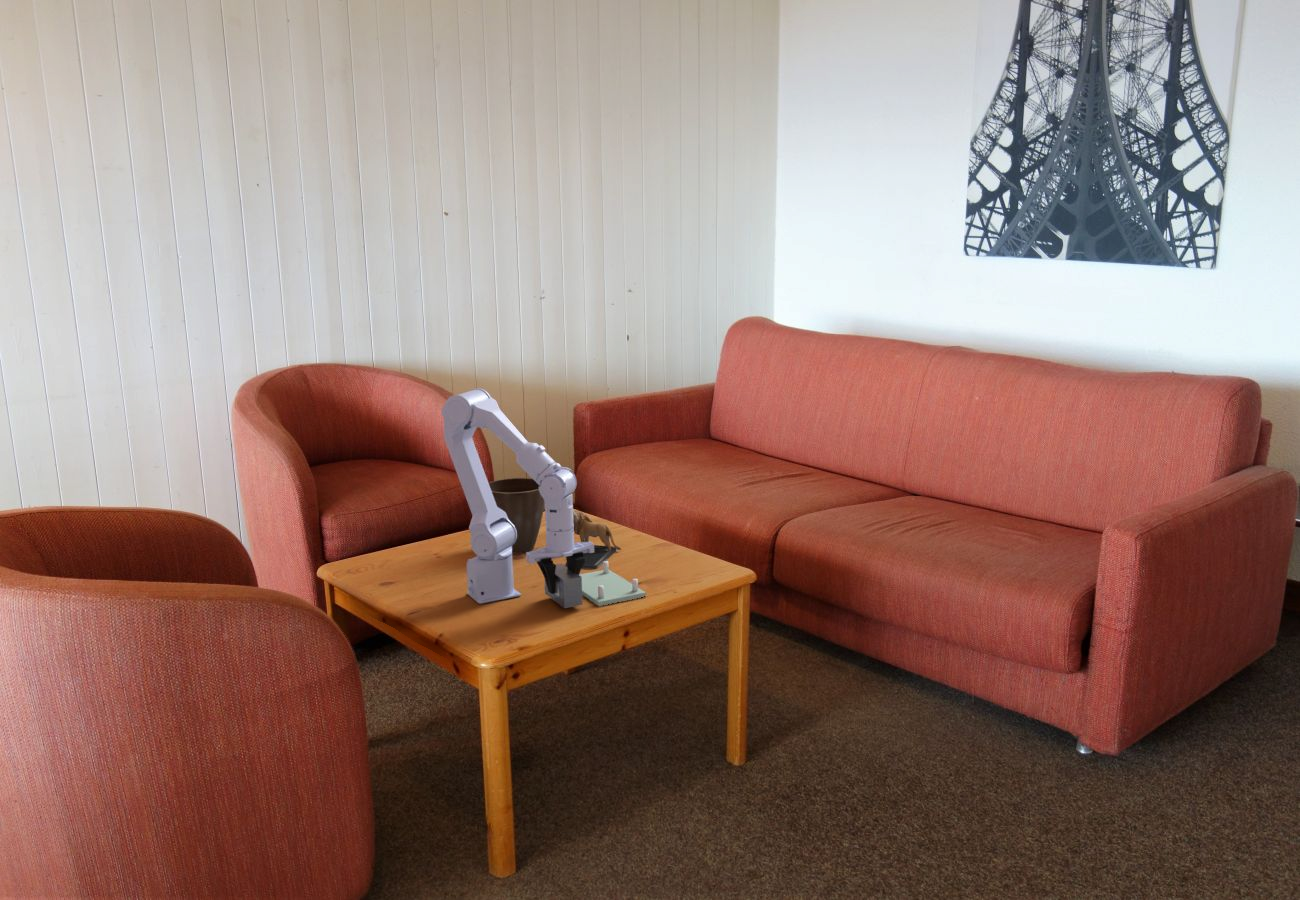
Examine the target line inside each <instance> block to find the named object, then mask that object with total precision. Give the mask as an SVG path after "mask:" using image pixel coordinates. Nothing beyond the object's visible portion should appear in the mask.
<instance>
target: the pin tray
mask: <svg viewBox="0 0 1300 900" xmlns="http://www.w3.org/2000/svg"><path fill="white" fill-rule="evenodd" d="M602 568H603V569H602V570H597V571H595V570H594V571H591V572H587V573H579V575H580V576H581V577H582V597H584V598H586V599H588V600H589V602H592V603H593V602H594V604H595V606H597V607H604V606H608V604H609V605H613V604H612V603H614V604H618V603H617V602H619V603H622V601H623V602H628V601H632V599H633V600H637V598H638V599H642V598H641V597H643V598H645V597H644V596H646V597H647V592H646V591H644V590H643V589H642V588H639V581H638V578H632V579H631V582H629V580H627V579H625V578H623V577H622V576H620V575H618V574H617V573H615V572H613V571H612V570H610V569H609V561H608V560H606V561H604V562H603V564H602ZM627 600H628V601H627ZM603 605H604V606H603Z"/></svg>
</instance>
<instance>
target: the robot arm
mask: <svg viewBox="0 0 1300 900" xmlns="http://www.w3.org/2000/svg"><path fill="white" fill-rule="evenodd" d="M440 412H441V415H442V417H443V439H444V443H445V445H446V447H447V451H448V453H449V455H450V458H451V461H452V463H453V465H454V466H453V467H454V469H455V472H456V474H457V475H456V476H457V478H458V480H459V483H460V485H461V487H462V490H463V493H464V496H465V499H466V501H467V504H468V507H469V511H470V512H471V515H472V518H471V520H470V522H469V523H470V524H469V526H468V529H469V533H470V546H471V547H470V548H471V549H472V552H473V553H474V554H475V555H476V556H475V557H473V558H469V559H467V561H466V582H467V583H466V584H467V591H466V594H467V595H469V597H471V598H472V599H473V600H474V601H475V602H476V603H478V604H479V605H481V604H487V603H491V602H496V601H500V600H506V599H507V600H508V599H511V598H517V597H521V595H522V594H521V593H520V592H519V591H518V590H517V589H515V585H514V584H515V583H514V564H513V553H512V545H513V544H514V543H515V541H516V539H517V530H516V528H515V526H514V525H513V524H512V523H511V521H510V520H509V519H508V517H507V514H506V512H504V511H503V510H501V509H500V508H498V507H497V505H496V502H495V500H494V497H493V494H492V491H491V489H490V486H489V483H490V482H489V480H488V478H487V475H486V473H485V470H484V467H483V464H482V462H481V459H480V456H479V453H478V449H477V448H476V446H475V442H474V439H473V436H474V434H475V432H476V430H477V428H479V429H480V428H481V429H488V430H490V431H491V432H492V433H493V435H495V436H496V437H497V438H498V439H499V440H500V441H502V442H503V443H504V444H505V445H506V446H507V448H509V449H510V450H512V451H513V453H515V455H516V456H515V457H516V464H518V465H519V467H521V469H522V470H523V471H524V472H525V473H526V474H528V476H529V477H530V478H531V479H533V480H534V481H535V482H536V483H537V484H538V485H540V486H539V492H540V494H541V496H542V497H543V499H544V502H545V504H544V511H545V512H544V513H545V514H544V517H545V540H546V541H545V543H546V544H545V545H546V546H544V547H541V548H538V549H536V550H531V551H528V552H525V559H526V562H527V563H528V564H530V565H531V564H535V563H536V564H537V566H538V568H539V569H540V570H541V573H542V575H543V577H544V582H545V581H546V584H547V588H548V592H550V593H551V594H554V593H555V570H556V565H555V563H554V559H559V558H565V560H566V562H567V566H568V568H569V569H571V570H572V571H574V572H575V573H577V574H578V575H579V574H581V570H582V569H583V568H582V567H583V565H584V563H585V560H586V558H585V556H583V553H588V552H589V553H594V545H595V543H593V541H589V542H582V543H581V542H575V532H574V523H573V510H574V505H573V504H574V502H573V501H574V499H573V498H574V497H573V492H574V491H576V488H577V484H578V481H577V477H576V474H575V473H574V472H573V470H572V469H571V468H569V467H567V466H565V467H564V466H561V464H560V463H559V462H556V461H555V460H554V459H553V458H552V457H551V456H550V455H549V454H548V453H547V452H546V447H544V445H543V444H540V445H539V444H538V443H537V442H529V441H528V440H527V439H526V438H525V437H524V436H523V434H522V433H521V432H520V431H519V430H518V428H516V427H515V425H514V424H513V423H512V421H510V420H509V418H508V417H507V415H505V413H504V412H503V411H502V410H501V409H500V407H499V405H498V401H497V400H496V399H494V398H493V397H491V395H490V393H488V391H487V390H485V389H483V388H480V387H478V388H476V387H475V388H473V389H471V390H468V391H466V392H462V393H460V394H454V395H451V396H450V397H448V398H447V399H446V401H445V403H444V405H443V406H442V408H441V410H440Z"/></svg>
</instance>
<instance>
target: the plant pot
mask: <svg viewBox="0 0 1300 900" xmlns="http://www.w3.org/2000/svg"><path fill="white" fill-rule="evenodd" d="M488 483H489V486H490V489H491V491H492V494H493V497H494V500H495V502H496V505H497V507H498V508H500V509H501V510H503V511H504V512H506V514H507V517H508V519H509V520H510V521H511V523H512V524H513V525H514V526H515V528H516V530H517V539H516V541H515V543H514V544H513V545H512V554H522V553H524V554H525V553H526V552H531V551H534V549H535V545H536V542H537V540H538V537H539V532H540V529H541V524H542V519H543V516H544V515H543V514H544V511H545V502H544V499H543V497H542V496H541V494H540V492H539V486H540V485H538V484H537V483H536V482H535V481H534V480H533V479H532V477H530V478H529V477H516V478H515V477H512V478H502V479H496V480H494V481H490V482H488Z"/></svg>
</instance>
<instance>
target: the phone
mask: <svg viewBox="0 0 1300 900" xmlns="http://www.w3.org/2000/svg"><path fill="white" fill-rule="evenodd" d="M607 549H608V548H607V546H605V545H597V544H594V553H589V552H588V553H583V556H585V558H586V560H585V563H584V565H583V567H582V569H584V570H597V569H598V568H600V567H601V566H603V562H604V561H608V559H609V558H611V557H612V556H613V555H614V554H615V553H616V552H617V549H616V548H615V547H614V546H611V551H606V550H607ZM565 566H566V567H568V566H567V561H566V562H565Z"/></svg>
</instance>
